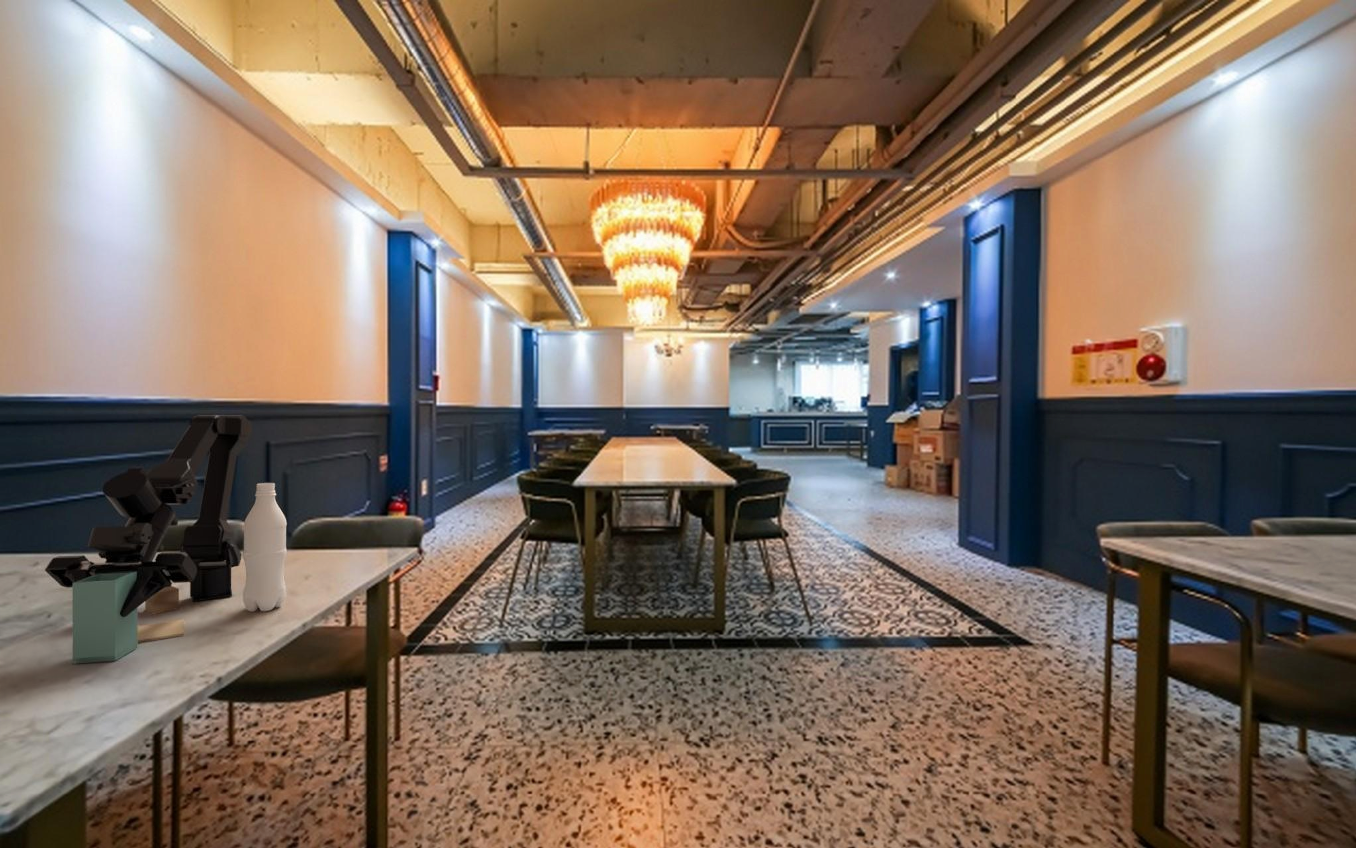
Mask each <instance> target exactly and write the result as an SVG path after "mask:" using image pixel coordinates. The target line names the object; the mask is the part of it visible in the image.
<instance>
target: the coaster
mask: <svg viewBox="0 0 1356 848" xmlns="http://www.w3.org/2000/svg"><path fill="white" fill-rule="evenodd" d="M184 627H185V619H184V618H183V619H177V620H170V621H165V622H158V623H152V624H145V625H138V643H139V644H140V643H145V642H152V641H157V640H164V639H169V638H176V637H181V636H182V637H183V636H184V631H185V630H184V629H185V628H184Z"/></svg>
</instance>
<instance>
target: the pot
mask: <svg viewBox="0 0 1356 848" xmlns="http://www.w3.org/2000/svg"><path fill="white" fill-rule="evenodd" d="M136 576H137V572H127V573H102V574H95V575H93V576H90V577H87V578H85V579H82V580H79V581H77V582H74V583H73V587H72V665H73V664H88V663H102V662H103V663H104V662H115V661H117V660H119V659H121V658H123V657H124V656H126V655H127V654H129V653H132V652H133V651H134V650H136V649H137V648H138V647H139V646H138V626H139V624H138V623H139V621H138V620H139V619H138V617H139V616H138V610H139V607H137V608H136V609H135V610H134V611H132V612H131V613H130V614H129V615H127V616H126V617H122V616H121V615H120V612H121V609H122V607H123V604H124V602H125V600H126V599H127V597H128V595H129V593H130V591H131V589H132V587H133V585H134V584H135V582H136Z"/></svg>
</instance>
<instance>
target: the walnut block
mask: <svg viewBox="0 0 1356 848" xmlns="http://www.w3.org/2000/svg"><path fill="white" fill-rule="evenodd" d="M179 592H180V589H179V588H178V587H175V586H172V585H171V586H170V587H165V588H163V589H162V590H160V591H159V592H157V593H156V594H155V595H153V596H152V597H150V598H149V599H147V600H146V601H145V602H144V603H145V604H144V605H145V606H144V607H145V609H144V610H145V611H146V612H148V613H150V614H152V615H154V614H155V615H156V614H159V613H164V612H169V611H173V610H178V609H180V608H179V605H180V604H179V603H180V600H179V599H180V593H179Z"/></svg>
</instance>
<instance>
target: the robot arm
mask: <svg viewBox="0 0 1356 848" xmlns="http://www.w3.org/2000/svg"><path fill="white" fill-rule="evenodd" d="M252 433H253V424H252V422H251V420H250V419H249V420H248V419H247V417H246V416H245V415H242V414H241V415H240V414H238V415H237V414H235V415H234V414H232V415H231V414H228V415H226V414H210V415H207V414H206V415H203V414H202V415H201V414H199V415H195V416H192V417H191V418H190V419H189V426H188V428H187V430H186V431H185V433H184V434H183V436H182V437H181V439H180V440H179V442H178V443H177V444H176V446H175V448H174V449H173V451H172V452H171V454H170V455H169V457H168V458H167V460H165V462H163V463H161V464H159V465H156V466H154V467H152V468H151V469H150V470H149V472H146V470H145V469H144V467H129V468H128V469H127V470H126V471H125V472H123V473H120V474H118V475H114V476H113V477H112V478H110V479H109V480H107V481H105V483H104V484H103V486H102V493H103V494H104V495H105V497H106V498H107V499H108V500H109V502H110V503H111V504H112V505H113V507H114V508H115V509H116V511H117V512H118V513H119V514H120V515H121V516H122V517H124V518H129V519H128V520H127V522H126V524H125V526H123V525H122V526H120V525H119V526H94V527H93V528H92V530H91V534H90V537H89V540H88V544H87V548H88V549H95V550H98V553H97V555H98V556H99V557H100V558H101V559H105V562H93V561H90V560H89V559H88V558H87V557H86V556H85V555H84V554H82V555H60V556H59V555H58V556H56V557H53V558H52V559H50V560H49V562H48V564H47V566H46V567H45V569H44V571H45V572H46V573H47V574H48V575H49V576H50V577H51V578H52V579H53V580H54V581H55V582H57V584H59V586H61V587H64V588H67V589H68V588H69V589H70V588H73V583H74V582H77V581H79V580H82V579H85V578H87V577H90V576H93V575H95V574H102V573H127V572H137V576H136V582H135V584H134V585H133V587H132V589H131V591H130V593H129V595H128V597H127V599H126V600H125V602H124V604H123V607H122V609H121V612H120V615H121V616H122V617H126V616H127V615H129V614H130V613H131V612H132V611H134V610H135V609H136V608H137V607H138V608H139V606H141V605H142V604H144V603H145V601H146V600H147V599H149V598H150V597H152V596H153V595H155V594H156V593H157V592H159V591H160V590H162V589H163V588H165V587H170V586H172V585H173V583H174V584H177V583H178V584H180V583H189V597H190V598H192V601H193V602H199V601H208V600H213V599H219V598H227V597H228V598H229V597H232V596H233V591H232V568H235V567H239V566H240V564H241V560H242V552H241V550H240V548H239V547H238V546H237V544H236V543H235V541H234V532H233V529H232V528H231V526H230V525H229V523H228V521H227V519H228V512H229V507H230V500H231V495H232V488H233V483H234V474H235V468H236V462H237V456H238V455H239V454H240V453H242V451H243V450H244V449H245V448H246V447H247V445H248V443H249V439H250V436H251V435H252ZM208 452H209V453H208ZM207 454H209V455H208V460H207V464H206V465H207V466H206V471H205V479H204V483H203V489H202V495H201V502H200V507H199V513H198V518H197V520H196V521H195V522H194V523H193V524H192V525H188V526H186V527H185V529H184V532H183V534H184V535H183V539H182V543H181V545H180V547H179V548H180V549H179V550H180V551H175V552H163V551H164V549H165V546H164V544H163V541H164V538H165V536H166V535H167V532H168V530H169V528H170V527H175V526H178V524H179V520H178V518H177V517H176V512H175V511H174V509H173V508H172V507H171V506H172V505H174V506H175V505H176V506H178V505H179V506H181V505H187V504H188V503H190V502H191V500H192V499H193V497H194V496H195V495H196V491H197V487H198V482H197V479H196V473H197V471H198V470H199V468H200V466H201V465H202V463H203V461H204V460H205V458H206V456H207ZM160 552H161V553H160ZM157 553H158V554H157ZM156 554H157V555H156Z"/></svg>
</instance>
